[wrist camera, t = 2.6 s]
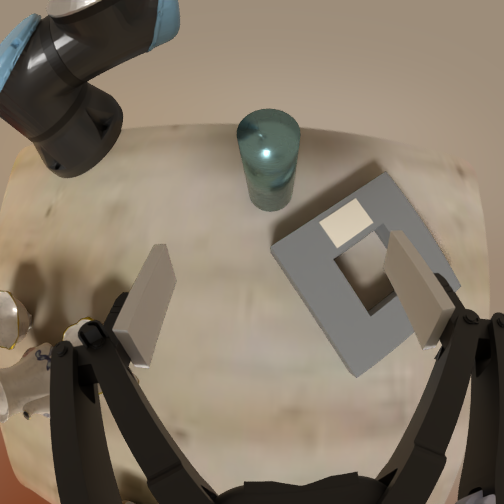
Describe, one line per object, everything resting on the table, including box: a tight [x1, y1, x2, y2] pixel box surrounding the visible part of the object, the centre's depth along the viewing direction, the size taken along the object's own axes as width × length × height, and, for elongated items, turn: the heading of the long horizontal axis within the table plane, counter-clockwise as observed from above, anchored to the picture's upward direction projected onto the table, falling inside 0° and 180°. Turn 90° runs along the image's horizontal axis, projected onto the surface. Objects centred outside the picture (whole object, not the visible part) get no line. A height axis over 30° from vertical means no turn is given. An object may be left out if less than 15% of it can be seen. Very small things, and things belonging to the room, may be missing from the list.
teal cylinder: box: [237, 109, 300, 212], centre depth 27 cm, size 5×5×12 cm
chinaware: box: [0, 291, 139, 423], centre depth 23 cm, size 28×17×17 cm, turn 88°
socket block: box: [270, 172, 461, 378], centre depth 29 cm, size 16×16×3 cm
